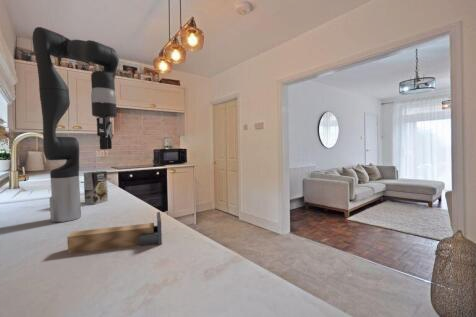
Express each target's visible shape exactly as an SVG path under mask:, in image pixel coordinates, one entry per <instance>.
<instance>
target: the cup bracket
mask: <svg viewBox="0 0 476 317" xmlns="http://www.w3.org/2000/svg"><path fill="white" fill-rule="evenodd" d="M161 216H162V215H161V211H158V212H156V225H154V233H149V234H141V235H140V244H139V247H141V246H142V247H145V246H149V245H156V244H157V245H158V246H160V245H162V244H163V242H162V240H163V239H162V238H163V237H162V236H163V234H162V218H161Z"/></svg>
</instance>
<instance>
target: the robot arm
mask: <svg viewBox="0 0 476 317" xmlns="http://www.w3.org/2000/svg"><path fill="white" fill-rule="evenodd" d="M31 40H32V46H33V52H34V56H35V61H36V62H35V63H36V67H37V68H36V69H37V75H38V87H39V88H38V89H39V91H38V92H39V100H40V106H41V114H42V115H41V117H42V145H43V147H42V149H43V153H44V157H45V158H46V159H47V160H48V161H65V163H64V164H63V165H61V166H59V167H56V168H54V169H51V171H50V172H49V173H50V174H49V175H50V176H49V177H50V191H51V192H50V193H51V197H49V213H50V214H49V215H50V222H51V223H55V222H56V223H61V222H62V223H65V222H70V221H74V220H77V219H80V218H81V217H82V210H81V209H82V208H81V207H82V206H81V191H80V190H81V188H80V187H81V186H80V143H79V141H78V139H77V138H76V137H74V136H56V133H57V127H58V124H59V122H60V121H61V119H62V118H63V116H64V115H65V114H66V112H67V111H68V109H69V108H70V103H71V101H70V93H69V92H70V91H69V87H68V85H67V83H66V81H64V79H63V78H62V76H61V75H60V74H59V72H58V71H57V70H56V67H55V66H54V64H53V61H52V57H55V58H58V59H59V58H60V59H75V60H77V61H82V62H86V63H90V64H94V65H98V66H101V67H103V70H96V71H93V72H92V73H91V74H90V75H91V76H90V79H91V80H90V81H91V92H90V93H91V95H90V96H91V97H90V98H91V100H90V101H91V115H92V116H93V117H95V118H96V135H97V137H98V139H99V150H111V149H112V147H113V145H112V139H113V137H114V134H113V122H112V121H111V118H113V119H114V118H116V117H117V114H118V112H117V97H116V87H115V84H116V83H115V78H116V74H117V69H118V67H119V64H120V63H119V62H120V57H119V54H118V52H117V51H116V49H114V48H113V47H110V46H108V45H105V44H103V43H101V42H97V41H95V40H89V39H88V40H83V39H82V40H81V39H72V40H71V39H70V38H68V37H66V36H64V35H62V34H60V33H58V32H55V31H53V30H50V29H47V28H46V27H41V26H37V27H35V29H34V30H33V31H32V39H31Z"/></svg>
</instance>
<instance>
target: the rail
mask: <svg viewBox="0 0 476 317" xmlns="http://www.w3.org/2000/svg"><path fill="white" fill-rule="evenodd" d="M154 226H155V223H154V222H150V223H149V222H148V223H140V224H131V225H123V226H121V225H120V226H114V227H113V226H112V227H104V228H103V227H102V228H95V229H87V230H86V229H85V230H76V231H72V232H71V233H69V235H67V237H66V238H67V240H66V241H67V253H68V255H69V254H76V253H77V254H78V253H83V252H91V251H100V250H107V249H114V248H121V247H129V246H137V245H140V235H141V234H149V233H154Z"/></svg>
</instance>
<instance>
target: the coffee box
mask: <svg viewBox="0 0 476 317" xmlns="http://www.w3.org/2000/svg"><path fill="white" fill-rule="evenodd" d="M83 183H84V184H83V189H84V191H83V192H84V205H97V204H101V203H104V202H106V201H108V200H109V195H108V172H107V171H105V170H102V171H99V170H98V171H91V172H83Z"/></svg>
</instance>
